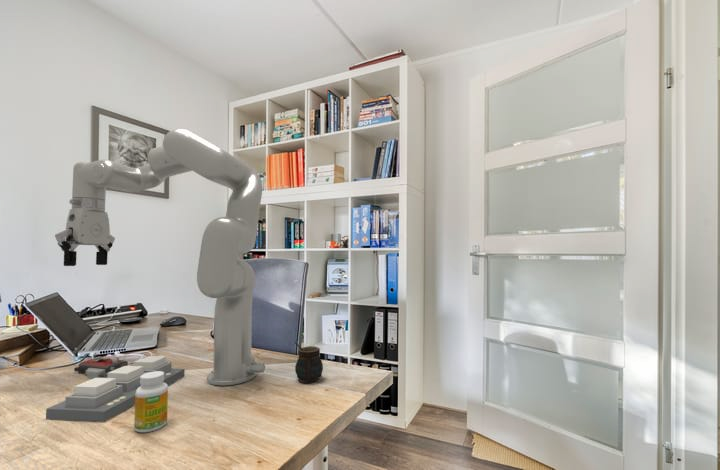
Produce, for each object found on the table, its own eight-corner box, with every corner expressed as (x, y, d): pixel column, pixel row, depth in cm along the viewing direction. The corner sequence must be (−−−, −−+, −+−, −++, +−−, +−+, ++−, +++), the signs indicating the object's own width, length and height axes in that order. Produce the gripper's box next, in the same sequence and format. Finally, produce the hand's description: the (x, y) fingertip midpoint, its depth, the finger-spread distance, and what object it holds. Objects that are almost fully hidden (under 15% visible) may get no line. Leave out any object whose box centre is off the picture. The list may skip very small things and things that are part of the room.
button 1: (166, 364, 90) (166, 356, 90) (152, 370, 85) (152, 362, 85) (148, 363, 90) (149, 356, 90) (134, 369, 85) (134, 361, 85)
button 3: (115, 387, 74) (116, 378, 74) (95, 397, 69) (95, 387, 69) (95, 386, 74) (95, 377, 74) (73, 396, 69) (74, 386, 69)
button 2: (143, 374, 82) (143, 366, 82) (126, 382, 77) (127, 373, 77) (124, 374, 82) (125, 365, 82) (107, 381, 77) (107, 372, 77)
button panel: (184, 376, 91) (184, 361, 91) (103, 422, 66) (104, 401, 66) (140, 374, 92) (141, 360, 93) (45, 418, 68) (46, 398, 68)
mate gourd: (323, 384, 84) (323, 344, 85) (293, 386, 83) (293, 345, 84) (322, 374, 92) (322, 337, 92) (294, 376, 90) (294, 338, 91)
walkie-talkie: (64, 376, 93) (119, 384, 87) (65, 360, 93) (119, 366, 87) (97, 366, 101) (149, 372, 95) (98, 351, 101) (149, 356, 96)
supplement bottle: (142, 436, 61) (144, 381, 61) (128, 428, 64) (130, 376, 64) (172, 423, 65) (173, 372, 66) (158, 416, 68) (159, 368, 69)
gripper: (71, 201, 88) (68, 266, 87) (125, 209, 105) (123, 264, 104) (46, 201, 89) (42, 266, 88) (103, 210, 106) (101, 264, 105)
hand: (86, 265), depth 96 cm, fingers open, 9 cm apart
